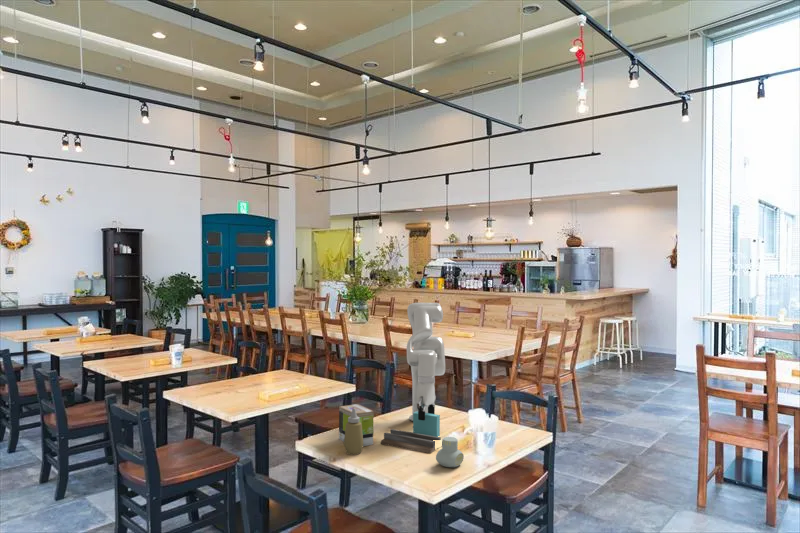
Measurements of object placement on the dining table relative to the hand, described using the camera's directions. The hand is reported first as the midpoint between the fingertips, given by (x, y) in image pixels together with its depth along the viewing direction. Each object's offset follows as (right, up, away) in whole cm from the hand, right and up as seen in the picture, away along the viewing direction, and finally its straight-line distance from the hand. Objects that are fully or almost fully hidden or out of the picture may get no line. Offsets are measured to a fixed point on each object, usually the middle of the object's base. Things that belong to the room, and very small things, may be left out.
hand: (426, 417), depth 238 cm
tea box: (-31, -9, -8) cm, 33 cm away
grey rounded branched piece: (+7, -8, -35) cm, 37 cm away
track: (-7, -8, -12) cm, 16 cm away
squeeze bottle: (-31, -8, -22) cm, 39 cm away
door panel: (0, -9, +1) cm, 9 cm away
